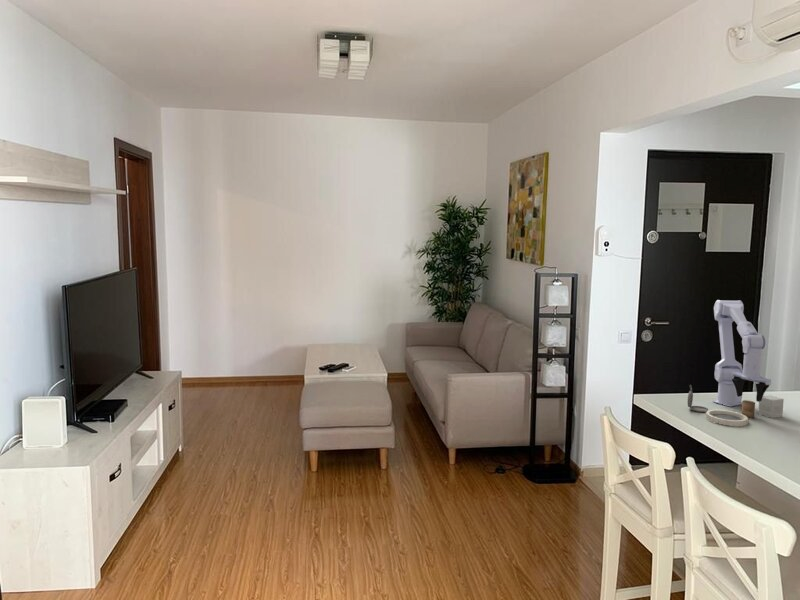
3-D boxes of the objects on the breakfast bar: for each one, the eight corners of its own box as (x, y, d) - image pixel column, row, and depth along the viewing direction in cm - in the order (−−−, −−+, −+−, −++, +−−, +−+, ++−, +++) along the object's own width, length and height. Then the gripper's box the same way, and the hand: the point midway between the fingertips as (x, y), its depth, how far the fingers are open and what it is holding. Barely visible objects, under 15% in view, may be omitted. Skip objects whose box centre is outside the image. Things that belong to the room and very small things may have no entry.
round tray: (720, 412, 236) (720, 407, 236) (755, 422, 224) (755, 417, 224) (698, 417, 230) (698, 412, 230) (732, 428, 218) (733, 423, 217)
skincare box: (782, 417, 232) (784, 398, 231) (770, 418, 230) (772, 400, 229) (769, 412, 238) (770, 394, 237) (757, 413, 236) (758, 395, 235)
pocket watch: (711, 413, 236) (713, 388, 235) (690, 412, 236) (691, 388, 235) (701, 407, 244) (703, 383, 243) (681, 406, 244) (682, 383, 243)
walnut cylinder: (745, 414, 235) (746, 399, 234) (756, 417, 231) (757, 402, 230) (738, 415, 233) (739, 401, 232) (749, 419, 229) (750, 404, 228)
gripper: (727, 362, 234) (725, 395, 235) (764, 369, 221) (761, 404, 223) (738, 360, 237) (735, 393, 239) (775, 367, 224) (772, 402, 226)
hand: (749, 398), depth 231 cm, fingers open, 7 cm apart
